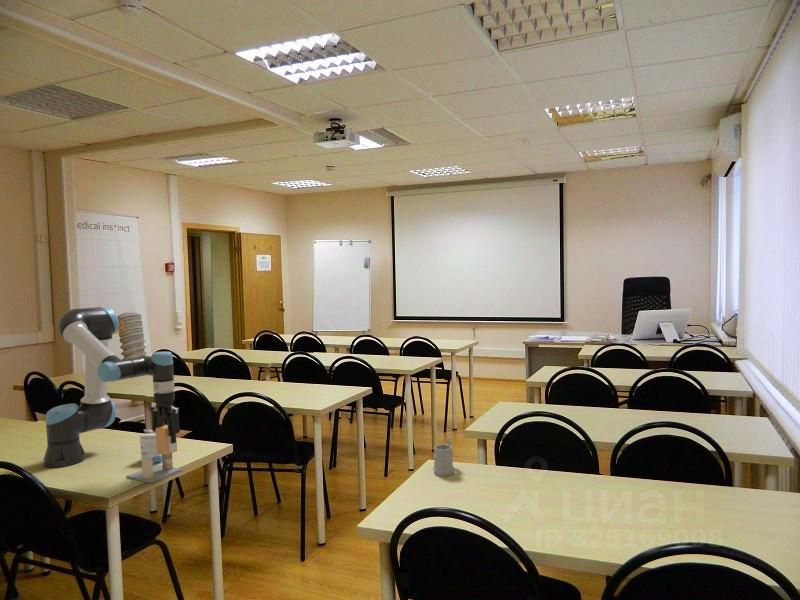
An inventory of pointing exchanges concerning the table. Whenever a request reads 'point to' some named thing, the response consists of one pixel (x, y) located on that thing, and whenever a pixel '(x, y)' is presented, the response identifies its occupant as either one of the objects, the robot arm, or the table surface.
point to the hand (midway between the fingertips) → (167, 450)
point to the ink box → (149, 447)
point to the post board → (155, 474)
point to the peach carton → (163, 440)
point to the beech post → (167, 462)
